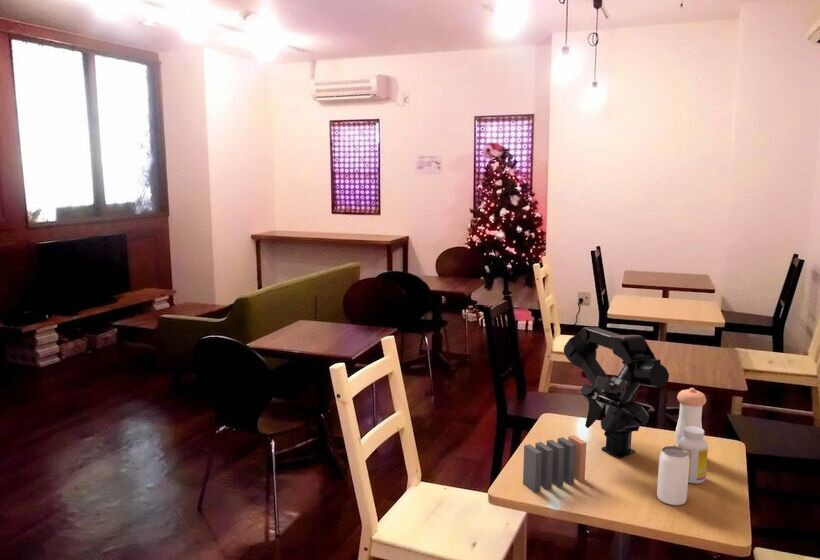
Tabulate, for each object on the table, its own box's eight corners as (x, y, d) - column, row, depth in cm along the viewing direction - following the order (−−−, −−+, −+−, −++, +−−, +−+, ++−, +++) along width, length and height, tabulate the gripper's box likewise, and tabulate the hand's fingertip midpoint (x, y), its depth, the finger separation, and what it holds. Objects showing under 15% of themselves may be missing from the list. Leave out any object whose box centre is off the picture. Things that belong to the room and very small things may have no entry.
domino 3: (550, 477, 163) (551, 439, 161) (562, 485, 158) (564, 447, 156) (545, 478, 162) (546, 440, 160) (557, 487, 157) (559, 448, 156)
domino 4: (561, 474, 164) (562, 437, 162) (573, 483, 159) (575, 445, 158) (556, 475, 163) (557, 438, 162) (568, 484, 159) (570, 446, 157)
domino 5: (571, 472, 165) (573, 435, 163) (584, 480, 161) (586, 442, 159) (566, 473, 165) (568, 436, 163) (579, 481, 160) (581, 443, 158)
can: (689, 507, 148) (693, 458, 146) (659, 504, 149) (662, 456, 147) (683, 493, 154) (686, 446, 152) (654, 491, 155) (657, 444, 153)
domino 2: (539, 479, 161) (540, 441, 160) (551, 488, 157) (553, 449, 155) (534, 480, 161) (535, 442, 159) (546, 490, 156) (547, 451, 154)
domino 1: (528, 482, 160) (529, 444, 158) (540, 491, 155) (541, 452, 154) (522, 483, 159) (524, 445, 158) (534, 492, 155) (536, 453, 153)
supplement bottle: (703, 474, 164) (707, 426, 162) (706, 486, 158) (710, 436, 155) (675, 470, 166) (679, 422, 164) (676, 482, 160) (680, 433, 158)
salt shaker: (667, 455, 174) (672, 387, 171) (681, 448, 179) (686, 382, 175) (693, 465, 169) (698, 395, 165) (707, 457, 173) (712, 389, 170)
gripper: (585, 355, 172) (553, 402, 168) (644, 374, 156) (610, 427, 153) (604, 378, 177) (574, 425, 174) (663, 399, 162) (630, 451, 158)
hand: (595, 431), depth 164 cm, fingers open, 6 cm apart
